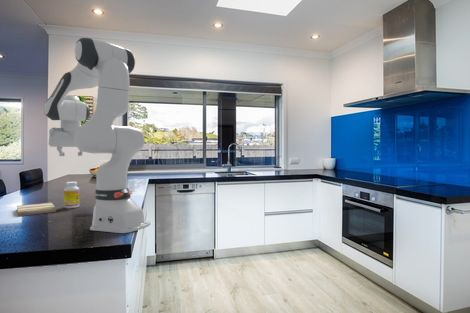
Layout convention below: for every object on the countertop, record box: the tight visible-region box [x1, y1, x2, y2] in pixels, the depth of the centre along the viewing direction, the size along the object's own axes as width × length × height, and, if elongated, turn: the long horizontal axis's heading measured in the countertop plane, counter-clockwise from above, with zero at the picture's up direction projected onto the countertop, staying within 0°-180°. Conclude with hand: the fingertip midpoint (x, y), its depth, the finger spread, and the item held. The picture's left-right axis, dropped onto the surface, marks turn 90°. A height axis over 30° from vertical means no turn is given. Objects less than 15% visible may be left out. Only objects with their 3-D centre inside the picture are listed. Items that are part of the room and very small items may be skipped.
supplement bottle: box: [63, 181, 80, 209], centre depth 141 cm, size 7×7×13 cm
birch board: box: [16, 202, 57, 217], centre depth 132 cm, size 16×14×2 cm
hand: (71, 156), depth 140 cm, fingers open, 8 cm apart
